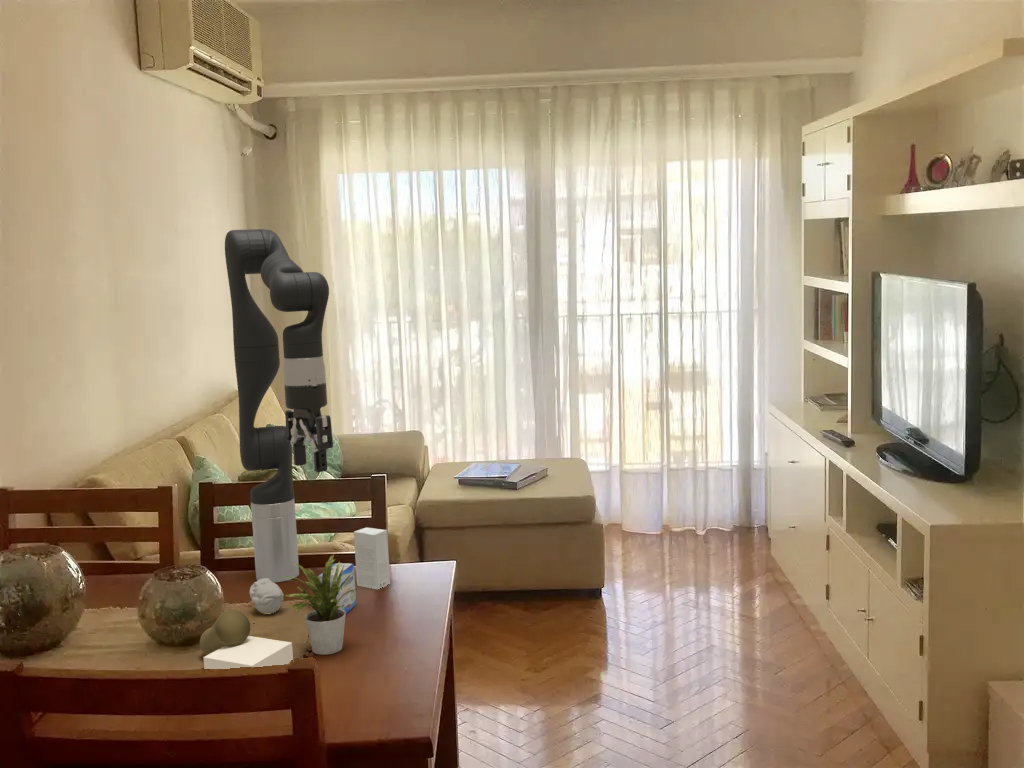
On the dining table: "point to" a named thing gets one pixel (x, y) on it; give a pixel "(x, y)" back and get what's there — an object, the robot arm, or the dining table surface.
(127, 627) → the dining table surface
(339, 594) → the medicine box
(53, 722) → the dining table surface
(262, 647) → the cream block
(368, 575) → the skincare box
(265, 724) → the dining table surface
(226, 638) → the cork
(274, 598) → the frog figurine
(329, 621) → the house plant
